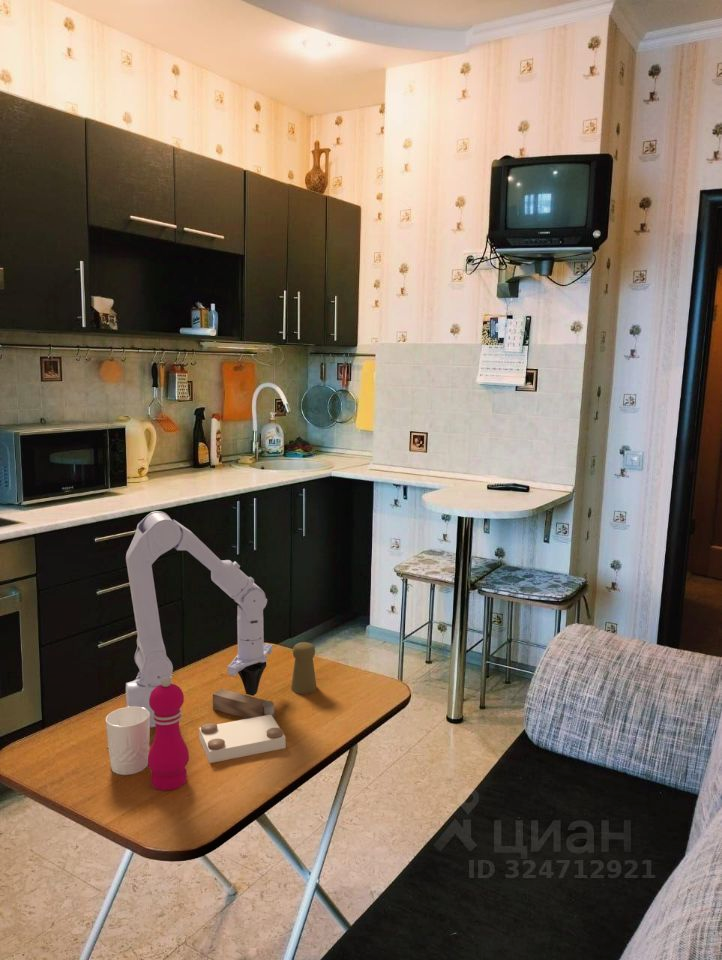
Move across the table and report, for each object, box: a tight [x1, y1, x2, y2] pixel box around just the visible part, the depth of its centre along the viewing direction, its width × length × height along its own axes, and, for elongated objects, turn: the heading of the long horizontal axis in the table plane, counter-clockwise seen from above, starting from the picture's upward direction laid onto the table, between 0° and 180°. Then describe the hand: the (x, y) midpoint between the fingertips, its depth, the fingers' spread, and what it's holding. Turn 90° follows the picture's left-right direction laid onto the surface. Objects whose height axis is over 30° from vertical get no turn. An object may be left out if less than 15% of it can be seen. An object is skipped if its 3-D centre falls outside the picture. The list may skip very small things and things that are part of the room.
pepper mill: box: [147, 677, 190, 791], centre depth 134 cm, size 7×7×20 cm
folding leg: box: [212, 688, 275, 719], centre depth 160 cm, size 15×3×4 cm, turn 63°
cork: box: [290, 641, 318, 695], centre depth 173 cm, size 6×6×11 cm
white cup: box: [105, 706, 151, 776], centre depth 139 cm, size 8×8×10 cm
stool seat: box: [198, 715, 287, 764], centre depth 148 cm, size 15×10×3 cm, turn 113°
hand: (251, 693), depth 167 cm, fingers closed
